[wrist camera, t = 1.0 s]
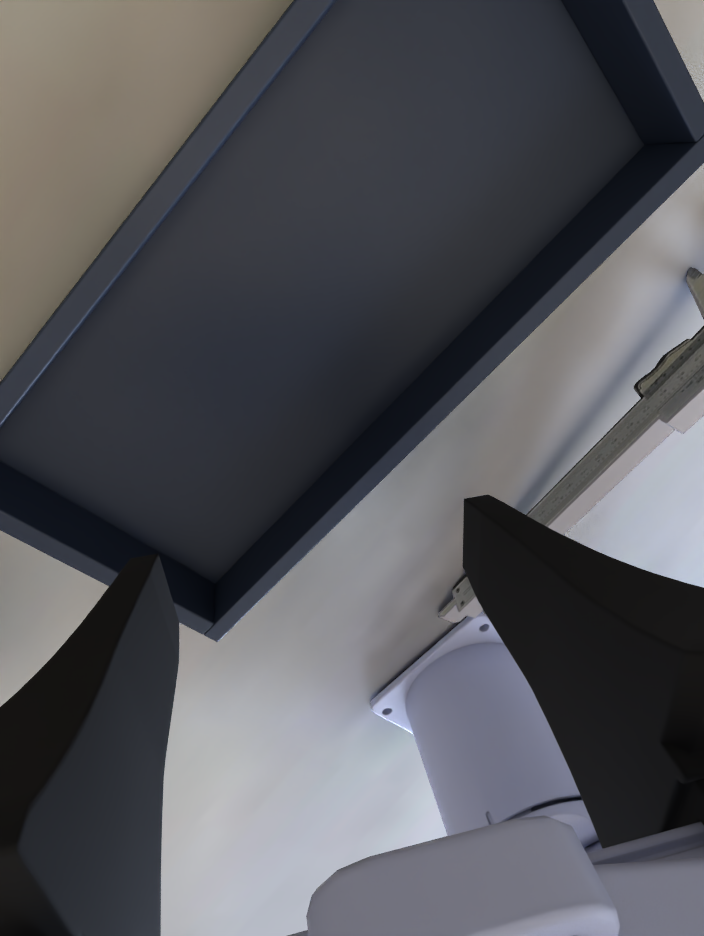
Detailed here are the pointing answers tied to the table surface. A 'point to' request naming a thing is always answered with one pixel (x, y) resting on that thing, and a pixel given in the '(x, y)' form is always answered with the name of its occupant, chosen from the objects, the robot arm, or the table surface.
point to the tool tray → (333, 278)
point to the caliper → (619, 443)
